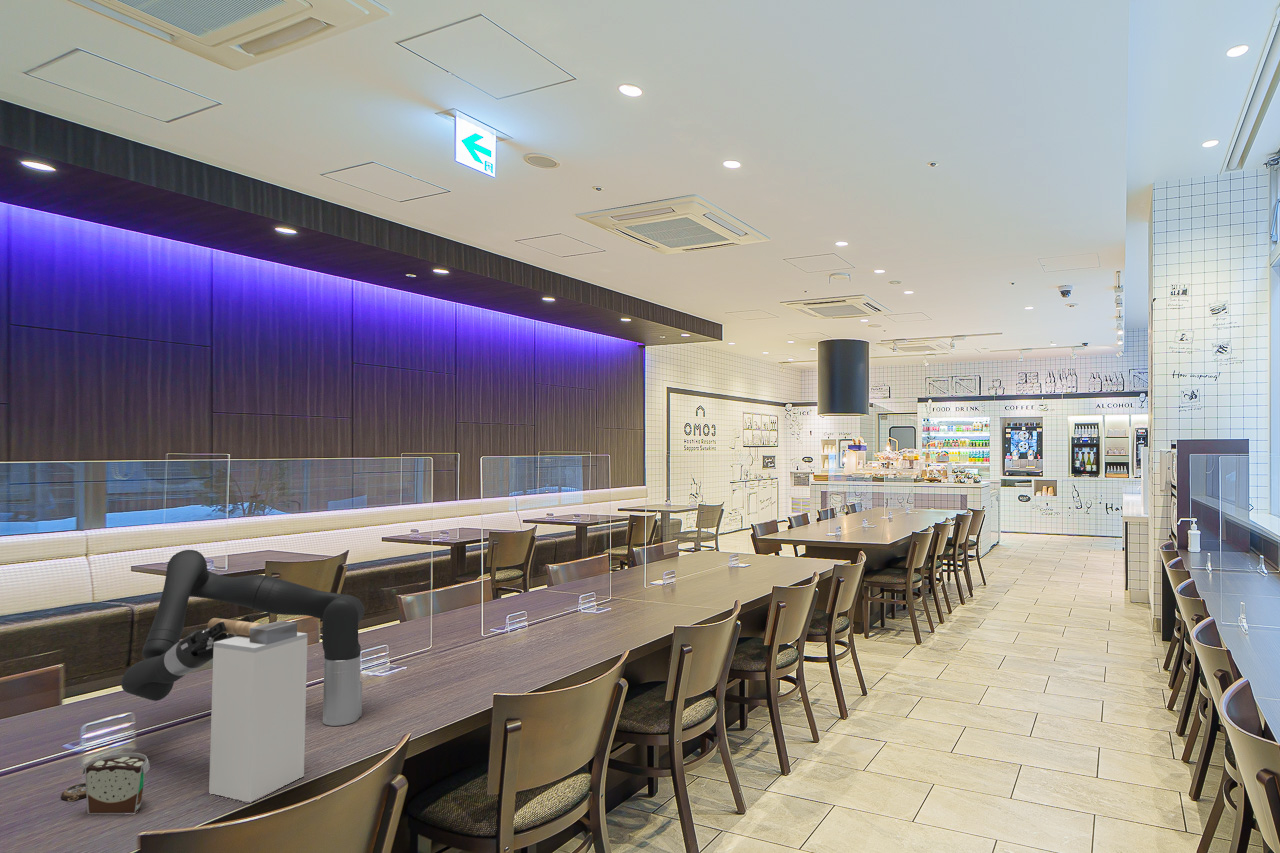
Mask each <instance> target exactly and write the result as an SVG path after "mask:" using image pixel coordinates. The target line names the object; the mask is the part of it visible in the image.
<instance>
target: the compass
mask: <svg viewBox="0 0 1280 853" xmlns="http://www.w3.org/2000/svg"><path fill="white" fill-rule="evenodd" d="M101 757H102V756H100V757H99V758H101ZM60 795H61V800H65V801H68V802H73V801H76V800H77V801H78V800H81V799H84V798H86V799H87V796H86V782H84V783H83V782H82V783H78V784H74V785H71V786H70V787H68V788H66V789H65V790H63V792H62V793H61V794H60Z"/></svg>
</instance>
